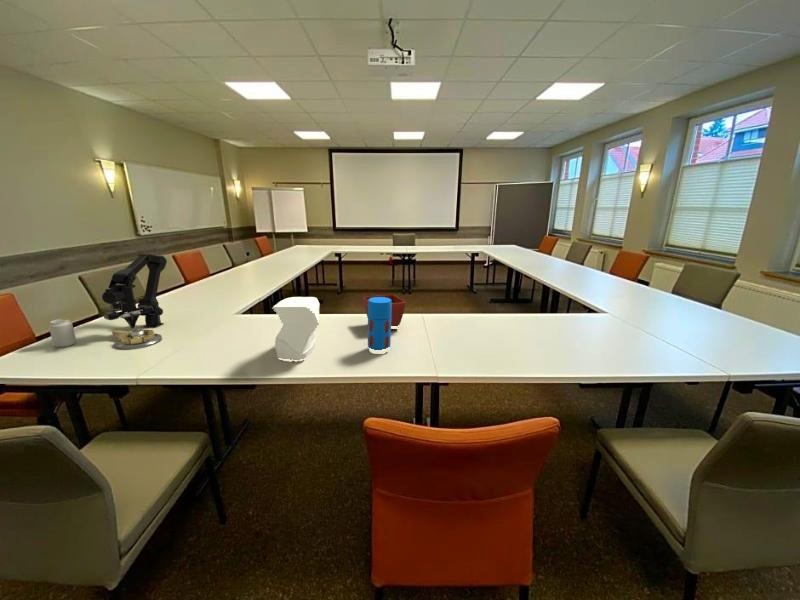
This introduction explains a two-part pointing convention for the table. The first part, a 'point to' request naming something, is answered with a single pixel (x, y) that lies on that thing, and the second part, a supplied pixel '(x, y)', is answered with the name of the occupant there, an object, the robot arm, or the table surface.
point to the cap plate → (139, 345)
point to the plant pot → (396, 308)
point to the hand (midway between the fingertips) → (132, 328)
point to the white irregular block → (297, 327)
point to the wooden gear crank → (136, 339)
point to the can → (62, 333)
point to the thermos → (379, 323)
